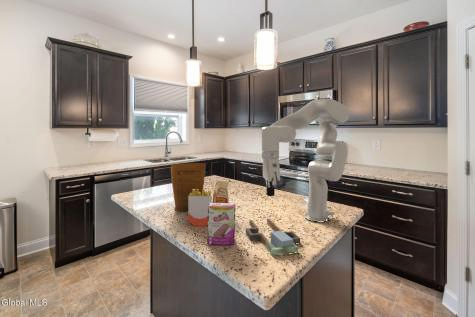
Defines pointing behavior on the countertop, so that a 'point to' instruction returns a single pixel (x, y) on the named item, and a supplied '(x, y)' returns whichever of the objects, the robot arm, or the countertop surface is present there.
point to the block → (281, 239)
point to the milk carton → (221, 192)
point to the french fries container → (199, 207)
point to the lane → (255, 235)
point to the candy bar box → (221, 224)
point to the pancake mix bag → (186, 182)
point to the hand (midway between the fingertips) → (270, 195)
